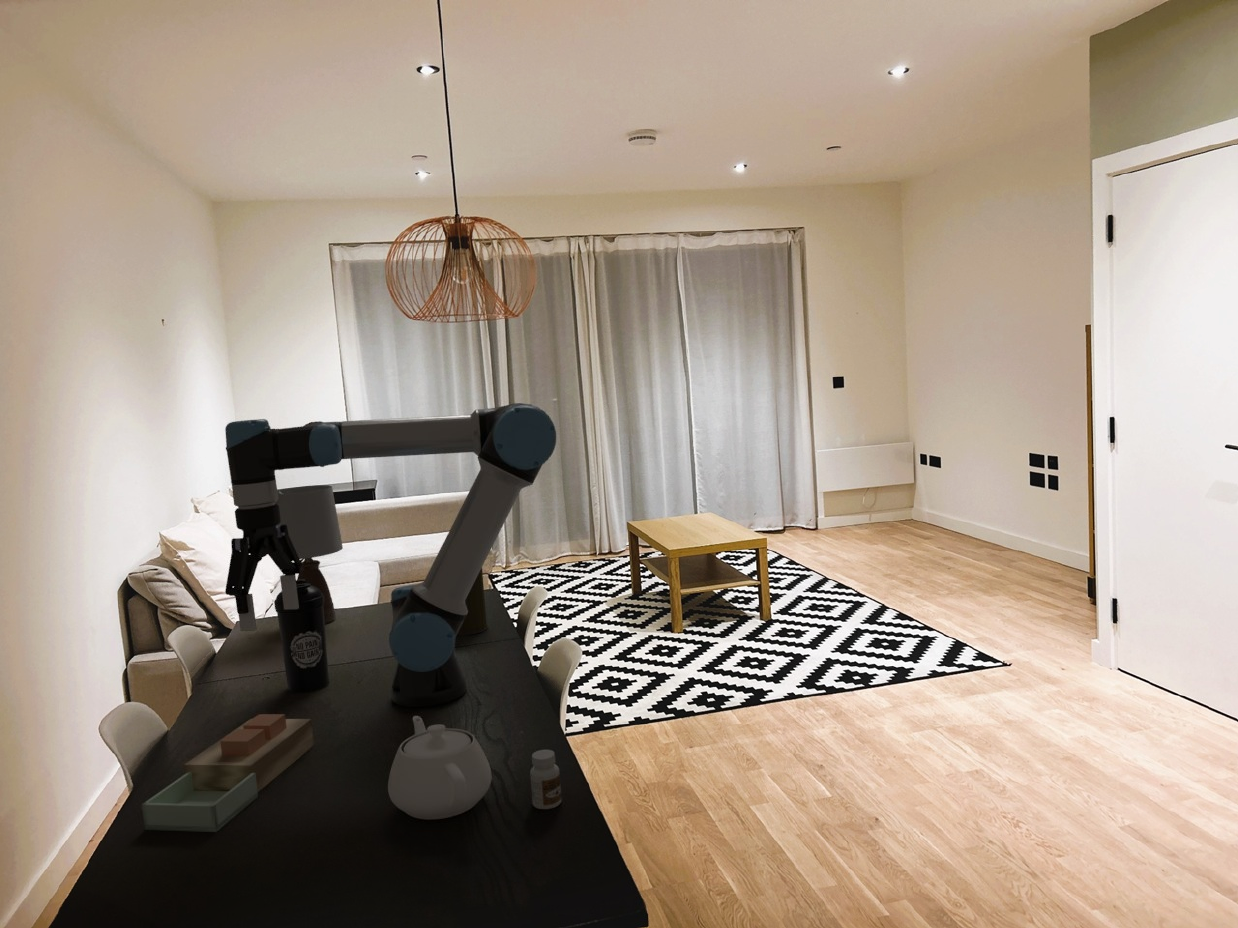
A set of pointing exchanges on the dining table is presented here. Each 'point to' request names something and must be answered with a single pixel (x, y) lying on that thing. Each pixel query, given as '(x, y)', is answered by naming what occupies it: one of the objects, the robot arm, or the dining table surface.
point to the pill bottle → (545, 780)
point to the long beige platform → (251, 759)
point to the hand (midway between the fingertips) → (271, 619)
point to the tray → (196, 806)
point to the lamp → (312, 532)
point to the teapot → (438, 772)
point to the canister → (475, 609)
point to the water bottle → (304, 639)
